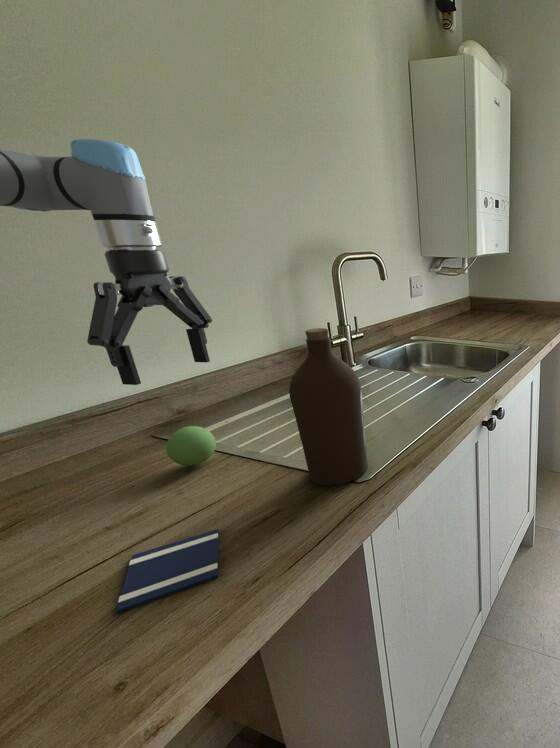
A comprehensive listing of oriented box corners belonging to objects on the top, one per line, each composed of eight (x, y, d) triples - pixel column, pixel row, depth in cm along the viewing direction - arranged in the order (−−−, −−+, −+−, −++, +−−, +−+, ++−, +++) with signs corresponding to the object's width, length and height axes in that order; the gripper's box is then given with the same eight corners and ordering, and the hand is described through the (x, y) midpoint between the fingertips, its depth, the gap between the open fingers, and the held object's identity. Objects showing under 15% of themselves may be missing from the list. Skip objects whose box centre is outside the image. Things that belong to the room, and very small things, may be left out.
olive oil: (321, 496, 64) (293, 340, 56) (296, 472, 71) (267, 330, 63) (382, 470, 71) (365, 329, 63) (354, 450, 78) (335, 321, 70)
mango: (174, 460, 75) (163, 425, 73) (220, 450, 79) (211, 417, 77) (170, 477, 70) (158, 440, 67) (219, 465, 73) (210, 430, 71)
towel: (133, 557, 52) (132, 554, 52) (218, 531, 56) (217, 528, 56) (117, 613, 44) (115, 610, 44) (218, 577, 49) (217, 573, 48)
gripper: (64, 250, 55) (115, 397, 62) (216, 248, 78) (241, 355, 85) (18, 250, 56) (73, 394, 63) (182, 248, 79) (209, 353, 86)
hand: (170, 372), depth 74 cm, fingers open, 13 cm apart
